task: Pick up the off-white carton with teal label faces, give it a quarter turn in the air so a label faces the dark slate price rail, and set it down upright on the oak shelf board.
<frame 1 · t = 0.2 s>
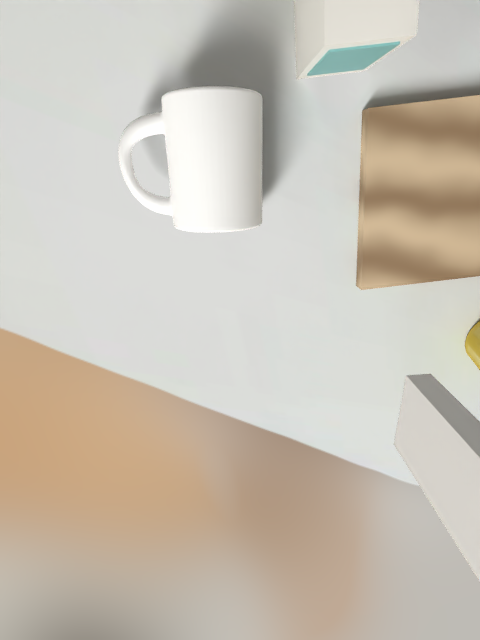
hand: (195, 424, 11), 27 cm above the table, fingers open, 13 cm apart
carton: (329, 33, 29), on the table
mug: (195, 166, 33), on the table
shelf board: (446, 196, 35), on the table
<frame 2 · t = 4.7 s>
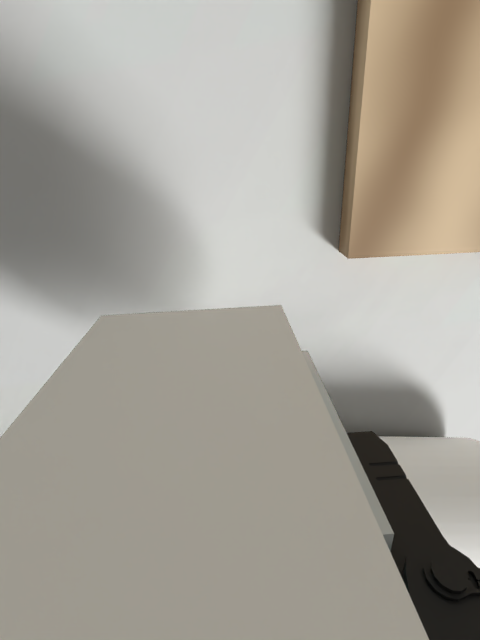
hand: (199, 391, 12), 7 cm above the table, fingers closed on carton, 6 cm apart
carton: (199, 385, 13), point 6 cm above the table, touching gripper
mug: (362, 475, 24), on the table
when the fingers open (2 cm above the table, at t = 8.6 s): carton stays where it is, resting on shelf board.
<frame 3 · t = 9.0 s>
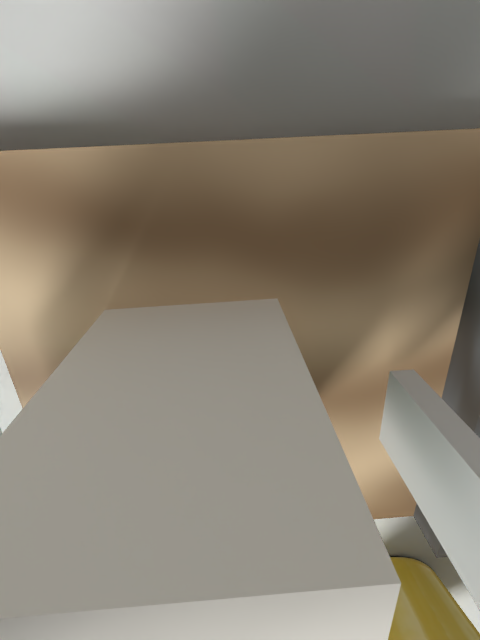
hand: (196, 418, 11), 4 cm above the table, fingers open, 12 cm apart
carton: (200, 376, 13), point 1 cm above the table, touching shelf board
shelf board: (249, 364, 15), on the table
plant pot: (380, 584, 22), on the table
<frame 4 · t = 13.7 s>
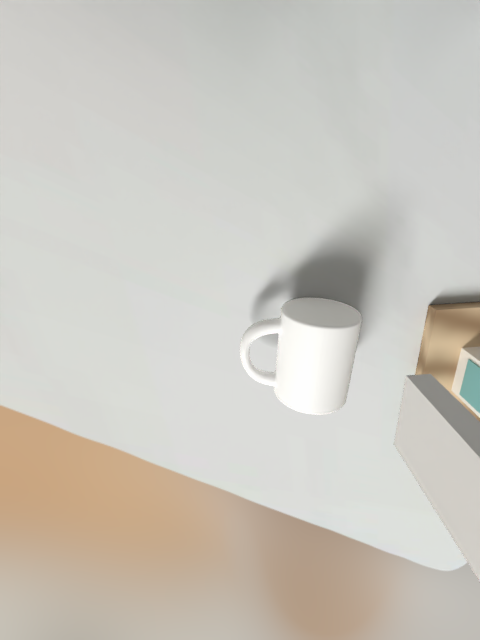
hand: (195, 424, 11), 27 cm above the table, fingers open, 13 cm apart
mug: (288, 335, 40), on the table
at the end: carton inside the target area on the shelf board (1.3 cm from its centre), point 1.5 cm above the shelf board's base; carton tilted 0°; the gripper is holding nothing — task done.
